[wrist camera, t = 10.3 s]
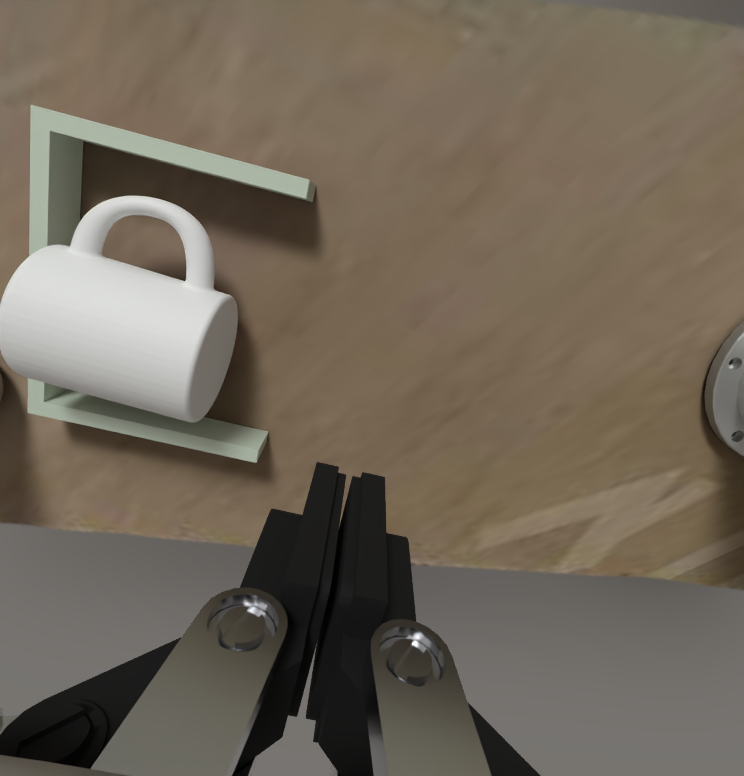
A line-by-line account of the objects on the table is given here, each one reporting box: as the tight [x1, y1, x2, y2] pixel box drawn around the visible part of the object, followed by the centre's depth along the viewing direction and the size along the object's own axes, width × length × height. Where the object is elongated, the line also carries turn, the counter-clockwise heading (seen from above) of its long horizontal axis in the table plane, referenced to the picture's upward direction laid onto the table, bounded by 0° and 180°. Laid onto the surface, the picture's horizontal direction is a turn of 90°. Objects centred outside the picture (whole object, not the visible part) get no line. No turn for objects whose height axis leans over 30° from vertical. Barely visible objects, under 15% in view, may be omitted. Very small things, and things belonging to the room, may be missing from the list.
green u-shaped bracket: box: [28, 105, 316, 463], centre depth 29 cm, size 15×18×3 cm
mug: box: [0, 196, 238, 423], centre depth 27 cm, size 12×10×8 cm
